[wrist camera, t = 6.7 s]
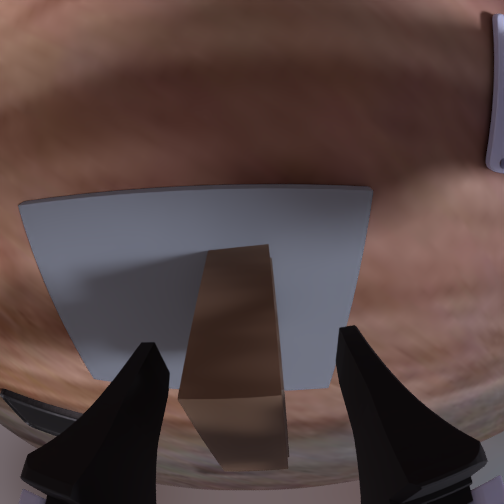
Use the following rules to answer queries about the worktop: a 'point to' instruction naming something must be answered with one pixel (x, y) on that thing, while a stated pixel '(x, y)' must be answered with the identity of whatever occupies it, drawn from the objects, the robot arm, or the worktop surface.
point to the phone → (40, 413)
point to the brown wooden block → (237, 362)
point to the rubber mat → (198, 266)
